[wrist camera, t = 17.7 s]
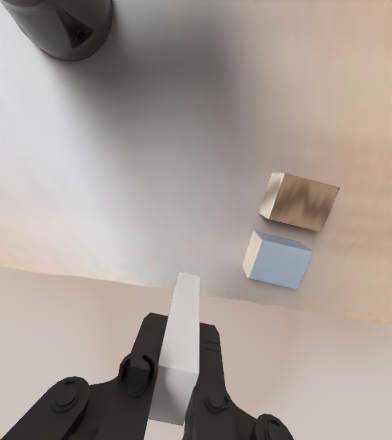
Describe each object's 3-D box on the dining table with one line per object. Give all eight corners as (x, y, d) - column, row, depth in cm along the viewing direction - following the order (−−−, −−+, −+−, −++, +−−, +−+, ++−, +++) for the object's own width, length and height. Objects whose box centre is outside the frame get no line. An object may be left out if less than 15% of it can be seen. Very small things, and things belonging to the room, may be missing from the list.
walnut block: (282, 173, 32) (340, 187, 32) (272, 172, 37) (322, 185, 37) (267, 218, 34) (321, 232, 34) (258, 212, 39) (306, 224, 39)
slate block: (260, 239, 35) (313, 251, 35) (253, 231, 40) (299, 242, 40) (247, 277, 37) (297, 289, 37) (241, 265, 42) (286, 275, 42)
